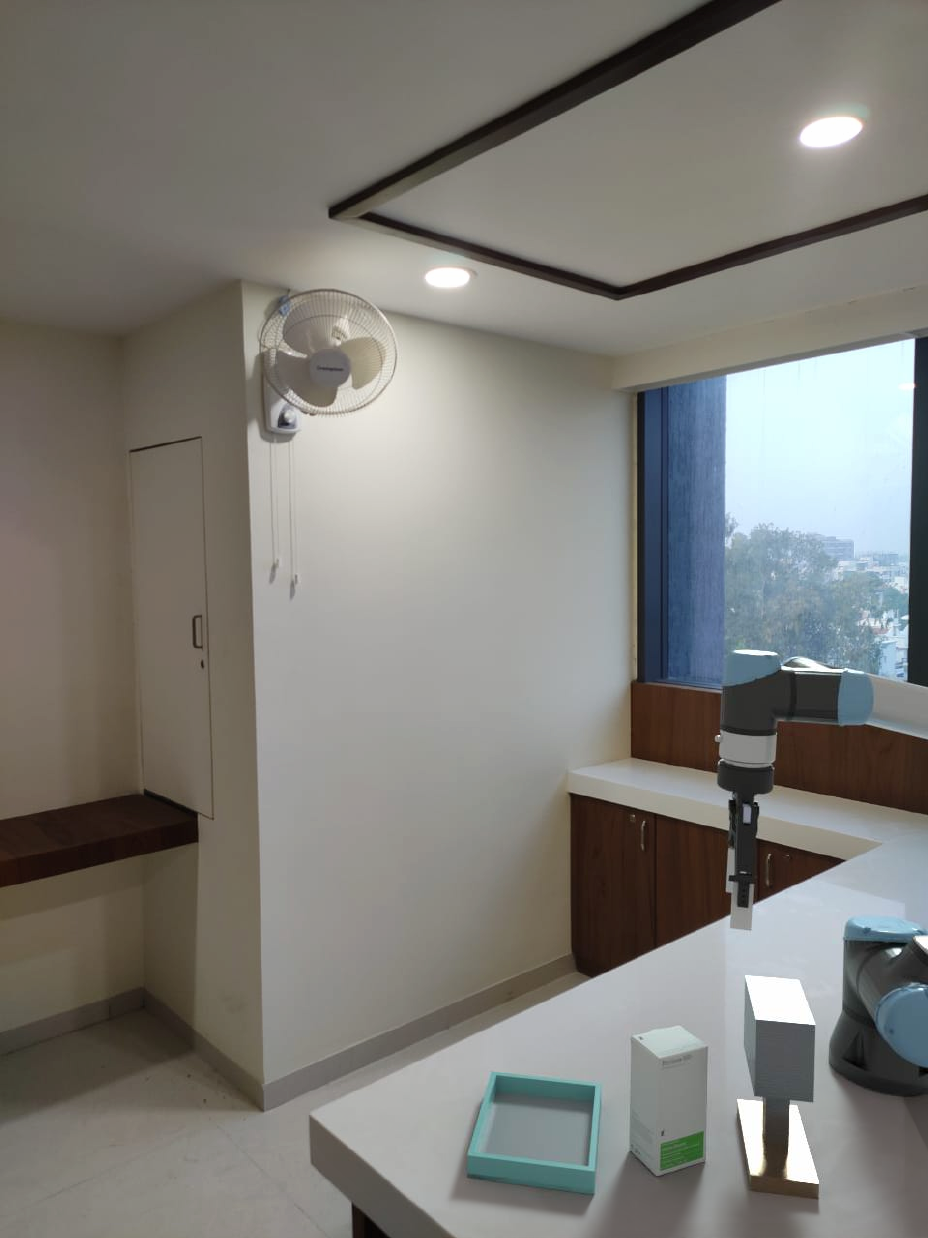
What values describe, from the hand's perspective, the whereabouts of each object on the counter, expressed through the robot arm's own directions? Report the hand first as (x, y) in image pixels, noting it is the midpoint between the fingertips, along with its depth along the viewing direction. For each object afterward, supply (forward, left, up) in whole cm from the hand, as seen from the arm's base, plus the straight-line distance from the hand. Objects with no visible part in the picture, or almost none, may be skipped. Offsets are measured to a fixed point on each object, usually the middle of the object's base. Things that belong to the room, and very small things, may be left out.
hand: (737, 909), depth 127 cm
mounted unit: (-4, +9, -29) cm, 31 cm away
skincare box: (+10, +12, -29) cm, 33 cm away
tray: (+27, +12, -29) cm, 41 cm away
